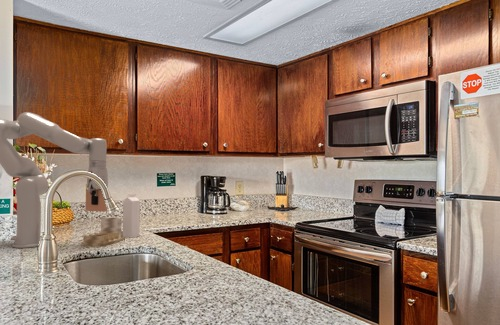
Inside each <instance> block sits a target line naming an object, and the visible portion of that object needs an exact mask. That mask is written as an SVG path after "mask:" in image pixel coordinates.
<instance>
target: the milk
mask: <svg viewBox="0 0 500 325" xmlns="http://www.w3.org/2000/svg"><path fill="white" fill-rule="evenodd" d="M140 211H141V200H140V199H139V198H138V197H137V194H136V193H135V194H134V193H132V194H127V197H126V198H125V199H123V203H122V214H123V215H122V231H123V237H125V238H130V239H133V238H137V236H138V237H140V229H141V228H140V225H141V224H140V218H141V212H140Z"/></svg>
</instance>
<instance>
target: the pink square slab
mask: <svg viewBox="0 0 500 325" xmlns="http://www.w3.org/2000/svg"><path fill="white" fill-rule="evenodd" d="M87 190H88V188H87V189H85V211H86V212H101V213H103V212H108V206H107V207H106V204H105V201H104V197H103V194H102V191H101V189H98V192H97V196H98V205H92V204H91V194H90V192H88V191H87Z"/></svg>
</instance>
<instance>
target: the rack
mask: <svg viewBox="0 0 500 325" xmlns="http://www.w3.org/2000/svg"><path fill="white" fill-rule="evenodd" d="M100 219H101V221H100V222H101V223H100V228H101V229H100V231H99V232H94V233H92V234H91V233H89V234H88V235H83V241H82V242H80V246H87V247H88V246H89V247H91V246H92V247H107V246H109V245H112V244H116V243H119V242H122V241H125V240H126V237H123V230H122V225H123V217H120V216H119V217H117V216H116V217H114V216H113V217H112V216H102V217H100Z"/></svg>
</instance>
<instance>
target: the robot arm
mask: <svg viewBox="0 0 500 325" xmlns="http://www.w3.org/2000/svg"><path fill="white" fill-rule="evenodd" d="M31 135H34V136H37V137H39V138H41V139H43V140H46V141H48V142H49V143H52V144H53V145H56V146H58V147H60V148H61V149H64V150H67V151H69V152H71V153H74V154H79V155H86V154H88V170H87V173H88V172H91V173H94V174H96V175H97V176H98V177H100V178H101V179H102V180H103V181H104V183H105V184H106V186H107V188H109V179H108V178H109V177H108V170H107V169H108V168H107V150H108V149H107V146H108V145H107V142H108V141H107V140H106V139H104V138H101V137H99V138H98V137H96V138H94V137H93V138H90V139H89V138H86V137H82V136H77V135H76V134H73V133H71V132H69V131H67V130H65V129H63V128H61V127H60V125H58V124H57V123H55V122H52V121H50V120H48V119H46V118H44V117H43V116H41V115H39V114H37V113H33V112H31V111H30V112H29V111H25V112H22V113H20V114H19V115H18V116H17V119H16V120H9V119H4V118H0V166H1V168H2V169H3V170H4V171H5V173H6V174H7V175H8V176H9V177H11V178H12V177H13V178H19V180H17V181H16V185H15V188H14V189H15V197H16V235H12V237H10V241H14V243H12V248H16V249H27V248H35V247H39V246H38V244H39V241H41V236H42V235H41V233H42V232H41V230H42V229H41V228H42V227H41V226H42V223H41V222H42V218H41V217H42V204H41V203H42V202H41V197H40V196H42V195H44V194H46V193H47V192H48V190H49V188H50V186H49V185H50V184H49V181H48V180H47V177H46V176H45V175H44V173H43V172H42V170H41V169H40V168H39V167H38V165H37V164H36V162H35V161H34V160H33V159H31V158H29V157H25V156H21V155H20V153H19V152H18V150H16V148H15V146H14V145H13V144H12V143H11V141H9V140H16V139H20V138H24V137H26V136H31ZM86 187H87V189H88V190H87V191H88V192H90V194H91V204H92V205H98V196H97V192H98V189H100V187H99V186H98V185H97V184H96V183H95V182H94V181H93V180H91V179H89V178H87V177H86Z"/></svg>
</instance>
